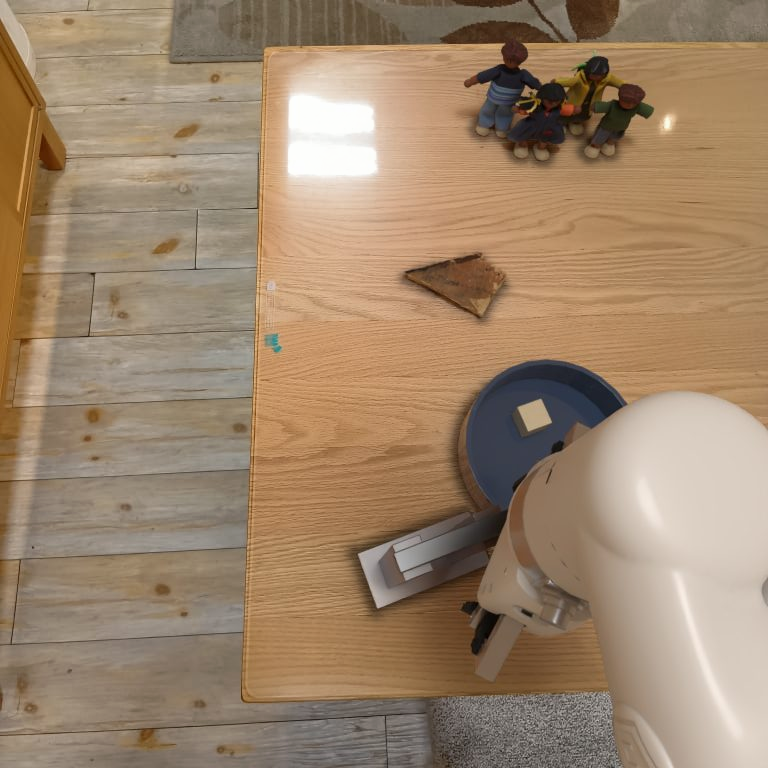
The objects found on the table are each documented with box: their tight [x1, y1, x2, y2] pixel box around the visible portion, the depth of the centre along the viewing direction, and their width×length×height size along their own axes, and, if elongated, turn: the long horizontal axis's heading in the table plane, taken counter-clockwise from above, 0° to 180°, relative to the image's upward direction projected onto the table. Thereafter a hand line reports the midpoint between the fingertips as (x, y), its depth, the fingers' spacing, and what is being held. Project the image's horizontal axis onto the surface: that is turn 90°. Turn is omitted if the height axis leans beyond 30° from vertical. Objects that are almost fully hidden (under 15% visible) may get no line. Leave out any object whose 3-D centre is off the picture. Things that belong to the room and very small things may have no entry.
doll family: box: [463, 39, 655, 162], centre depth 86 cm, size 23×9×13 cm, turn 99°
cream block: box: [511, 399, 552, 438], centre depth 77 cm, size 3×3×3 cm
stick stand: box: [356, 504, 501, 610], centre depth 64 cm, size 6×13×20 cm, turn 111°
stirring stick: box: [392, 508, 509, 574], centre depth 54 cm, size 2×10×2 cm, turn 111°
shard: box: [404, 252, 508, 318], centre depth 84 cm, size 11×8×2 cm
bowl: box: [457, 358, 629, 511], centre depth 76 cm, size 19×19×6 cm
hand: (506, 554), depth 51 cm, fingers open, 9 cm apart
